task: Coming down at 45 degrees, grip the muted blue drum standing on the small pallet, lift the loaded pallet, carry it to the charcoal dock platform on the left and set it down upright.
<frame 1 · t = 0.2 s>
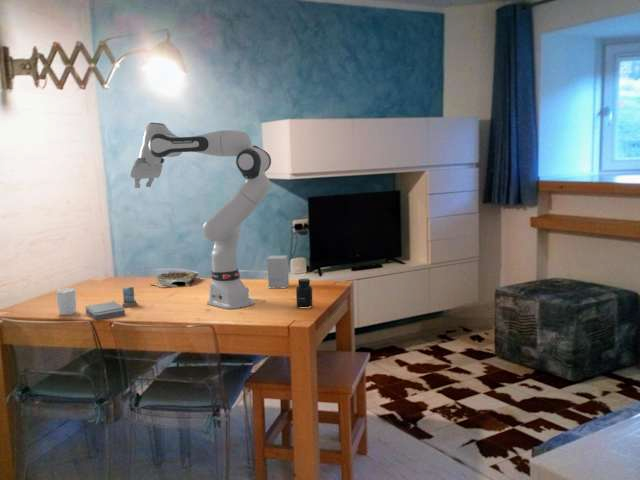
hand: (142, 187, 268), 52 cm above the table, tool tilted 20°, fingers open, 8 cm apart
dock: (105, 313, 251), on the table
supplement box: (278, 286, 293), on the table
loaded pallet: (129, 305, 265), on the table
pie: (178, 283, 310), on the table
supplement bottle: (304, 307, 253), on the table
white cup: (67, 313, 255), on the table
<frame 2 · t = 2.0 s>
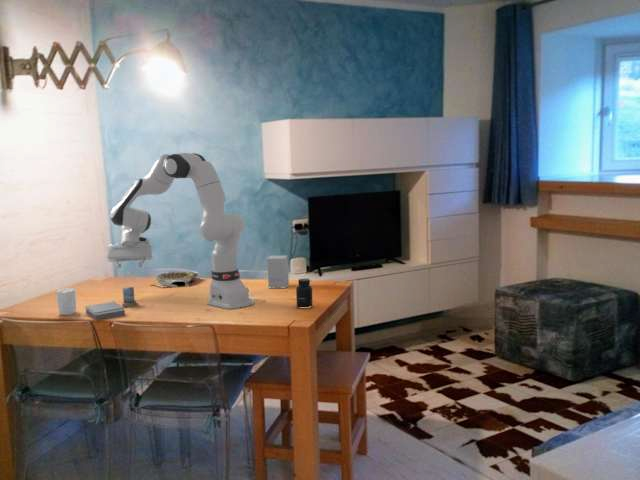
hand: (129, 267, 275), 15 cm above the table, tool tilted 45°, fingers open, 8 cm apart
nothing on the table moved.
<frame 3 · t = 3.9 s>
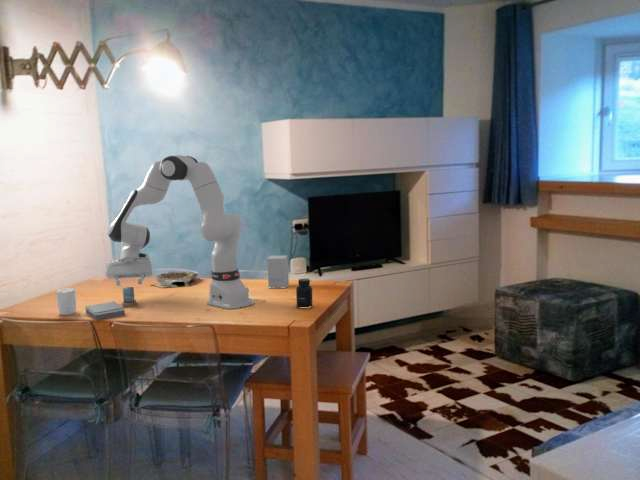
hand: (129, 284, 269), 8 cm above the table, tool tilted 45°, fingers open, 8 cm apart
nothing on the table moved.
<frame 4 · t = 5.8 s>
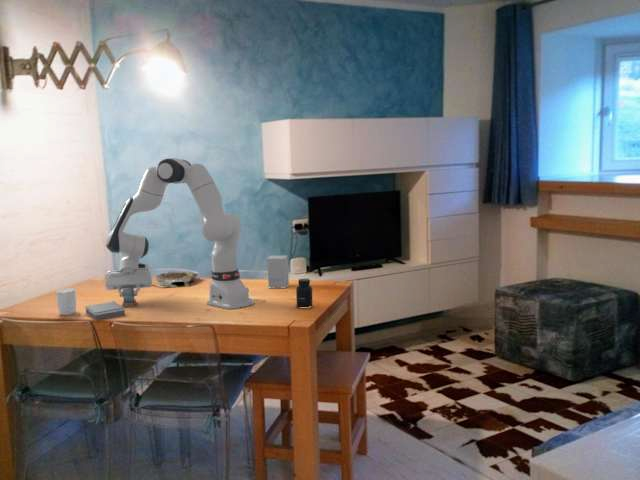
hand: (128, 295, 264), 4 cm above the table, tool tilted 45°, fingers closed on loaded pallet, 5 cm apart
loaded pallet: (129, 304, 265), on the table, touching gripper
everything else where it was.
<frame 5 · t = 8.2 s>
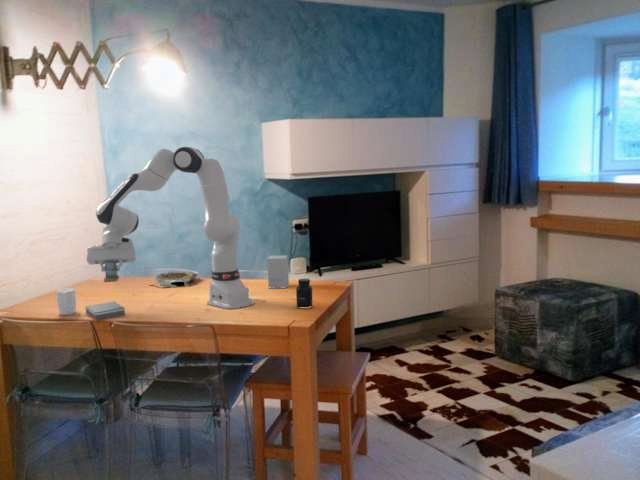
hand: (110, 270, 254), 18 cm above the table, tool tilted 45°, fingers closed on loaded pallet, 5 cm apart
loaded pallet: (111, 280, 255), point 13 cm above the table, touching gripper
everything else where it was.
when the fingers open (9 cm above the table, at t = 10.6 s): loaded pallet drops 1 cm, resting on dock.
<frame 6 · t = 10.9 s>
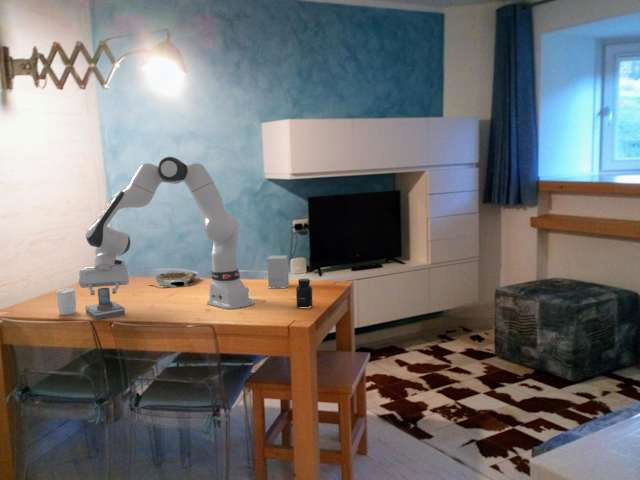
hand: (103, 293, 250), 9 cm above the table, tool tilted 45°, fingers open, 7 cm apart
loaded pallet: (105, 306, 251), point 3 cm above the table, touching dock
everything else where it was.
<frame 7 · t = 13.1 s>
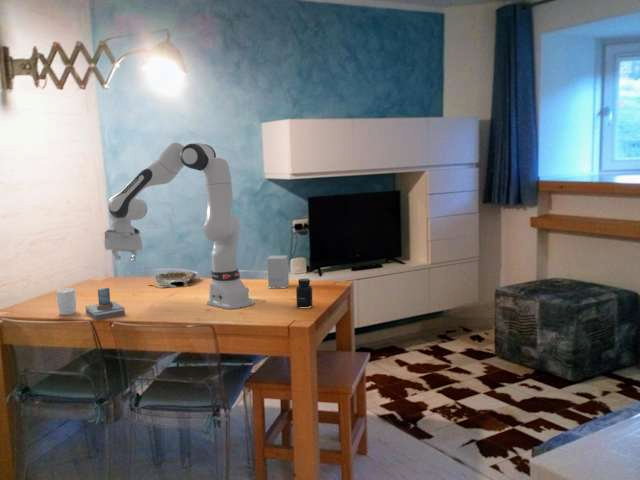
hand: (126, 260, 268), 19 cm above the table, tool tilted 20°, fingers open, 8 cm apart
nothing on the table moved.
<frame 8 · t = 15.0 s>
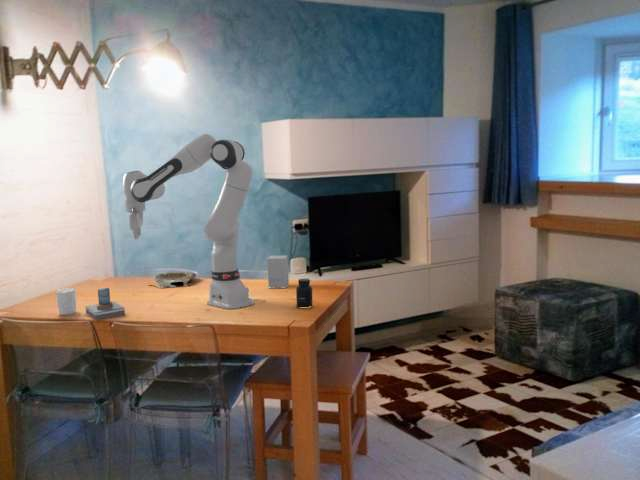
hand: (137, 237, 271), 29 cm above the table, tool pointing down, fingers open, 8 cm apart
nothing on the table moved.
at the end: loaded pallet inside the target area on the dock (0.1 cm from its centre), point 3.0 cm above the dock's base; loaded pallet tilted 0°; the gripper is holding nothing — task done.
